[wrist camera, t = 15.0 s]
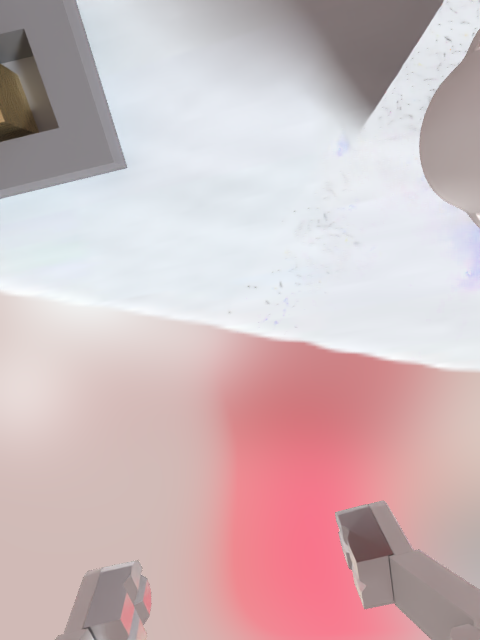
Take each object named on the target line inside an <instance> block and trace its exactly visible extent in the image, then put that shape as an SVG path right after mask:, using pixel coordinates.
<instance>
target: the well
mask: <svg viewBox="0 0 480 640" xmlns="http://www.w3.org/2000/svg"><path fill="white" fill-rule="evenodd" d="M0 64H2V65H3V66H5V67H6V68H8V69H9V70H11V71H13V72H14V73H16V74H17V75H18V76H19V79H20V82H21V84H22V87H23V90H24V93H25V95H26V98H27V101H28V103H29V106H30V109H31V111H32V114H33V117H34V119H35V122H36V125H37V127H38V130H39V133H36V134H31V135H27V136H23V137H19V138H15V139H11V140H7V141H3V142H0V199H1V198H5V197H9V196H13V195H17V194H22V193H26V192H30V191H34V190H38V189H42V188H46V187H50V186H55V185H59V184H63V183H67V182H71V181H75V180H79V179H83V178H88V177H92V176H96V175H100V174H104V173H108V172H112V171H116V170H121V169H125V168H127V165H126V162H125V159H124V156H123V152H122V149H121V146H120V143H119V139H118V136H117V133H116V130H115V126H114V123H113V120H112V117H111V113H110V110H109V107H108V104H107V100H106V97H105V94H104V91H103V87H102V84H101V81H100V78H99V74H98V71H97V68H96V65H95V61H94V58H93V55H92V52H91V48H90V45H89V42H88V39H87V35H86V32H85V29H84V26H83V22H82V19H81V16H80V13H79V9H78V6H77V3H76V0H0Z"/></svg>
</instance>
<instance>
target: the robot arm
mask: <svg viewBox="0 0 480 640" xmlns="http://www.w3.org/2000/svg"><path fill="white" fill-rule="evenodd" d="M419 148H420V160H421V165H422V169H423V172H424V175H425V177H426V179H427V181H428V183H429V185H430V186H431V188H432V189H433V191H434V192H435V193H436V194H437V195H438V196H439V197H440V198H441V199H443V200H444V201H445V202H447V203H449V204H450V205H453V206H455V207H457V208H459V209H461V210H463V211H465V212H466V213H467V214H468V215H469V217H470V218H471V219H472V221H473V222H474V223H475V224H476V225H477V226H478V227H479V228H480V29H479V30H478V32H477V33H476V35H475V37H474V39H473V41H472V43H471V45H470V47H469V49H468V51H467V54H466V56H465V58H464V59H463V60H462V62H461V63H460V64H459V65H458V66H457V67H456V68H455V69H454V70H453V71H452V72H451V73H450V74H449V76H448V77H447V78H446V79H445V80H444V81H443V83H442V84H441V85H440V87H439V88H438V89H437V91H436V93H435V94H434V96H433V98H432V100H431V102H430V104H429V106H428V108H427V111H426V113H425V116H424V119H423V123H422V127H421V133H420V145H419ZM335 516H336V521H337V524H338V527H339V529H340V531H339V537H340V541H341V546H342V549H343V552H344V556H345V558H346V561H347V564H348V567H349V569H351V570H352V571H353V576H354V582H355V586H356V588H357V591H358V594H359V596H360V599H361V601H362V604H363V607H364V609H368V608H373V607H378V606H383V605H388V604H393V603H395V605H396V606H397V607H398V608H399V609H400V610H401V611H402V612H403V613H404V614H405V615H406V616H407V617H408V618H409V619H410V620H412V621H413V622H414V623H415V624H416V625H417V626H418V627H419V628H420V629H421V630H422V631H423V632H424V633H425V634H426V635H427V636H428V637H429V638H430V639H431V640H480V589H478V588H477V587H475V586H474V585H472V584H470V583H469V582H467V581H466V580H465V579H463V578H462V577H460V576H459V575H457V574H456V573H454V572H452V571H451V570H449V569H448V568H447V567H445V566H443V565H442V564H441V563H439V562H438V561H436V560H435V559H433V558H432V557H430V556H429V555H427V554H425V553H424V552H422V551H421V550H419V549H418V550H414V549H413V548H412V546H411V544H410V543H409V541H408V539H407V537H406V536H405V534H404V532H403V530H402V529H401V527H400V525H399V524H398V522H397V520H396V518H395V517H394V515H393V514H392V512H391V510H390V508H389V506H388V505H387V503H386V502H385V501H380V502H375V503H371V504H368V505H362V506H358V507H354V508H350V509H346V510H342V511H338V512H335ZM141 572H142V566H141V564H140V562H139V561H138V560H137V561H131V562H127V563H122V564H118V565H112V566H108V567H103V568H99V569H94V570H90V571H87V573H86V574H85V576H84V577H83V580H82V582H81V585H80V588H79V591H78V594H77V597H76V600H75V602H74V606H73V608H72V611H71V614H70V617H69V620H68V622H67V625H66V628H65V631H64V634H61V635H58V636H57V638H56V639H55V640H146V637H147V632H146V630H145V628H144V626H143V625H144V624H145V622H146V621H147V619H148V618H149V616H150V611H151V589H150V584H149V582H148V579H147V578H146V577H144V576H142V575H141Z"/></svg>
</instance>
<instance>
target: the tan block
mask: <svg viewBox="0 0 480 640" xmlns="http://www.w3.org/2000/svg"><path fill="white" fill-rule="evenodd" d="M36 133H39V130H38V127H37V125H36V122H35V119H34V117H33V114H32V111H31V109H30V106H29V103H28V101H27V98H26V95H25V93H24V90H23V87H22V84H21V82H20V79H19V76H18V75H17V74H16V73H14V72H13V71H11V70H9V69H8V68H6V67H5V66H3V65H2V64H0V142H3V141H7V140H11V139H15V138H19V137H23V136H27V135H31V134H36Z"/></svg>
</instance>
